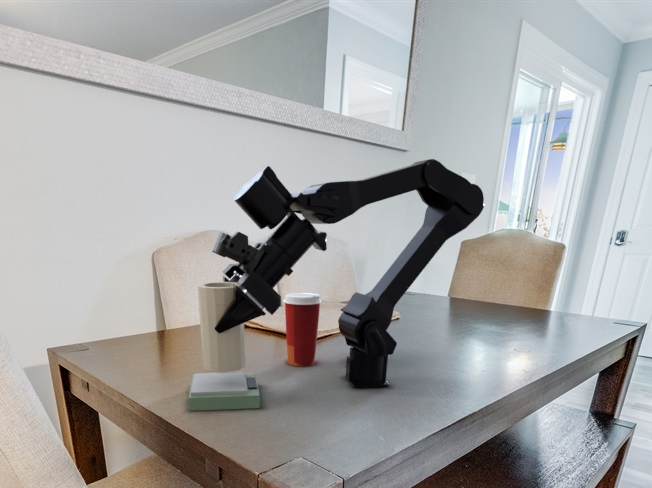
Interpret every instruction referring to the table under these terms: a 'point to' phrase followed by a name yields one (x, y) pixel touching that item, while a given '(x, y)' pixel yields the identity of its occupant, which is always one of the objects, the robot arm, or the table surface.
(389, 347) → the robot arm
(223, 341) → the canister
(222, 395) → the scale
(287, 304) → the paper cup
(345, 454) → the table surface
